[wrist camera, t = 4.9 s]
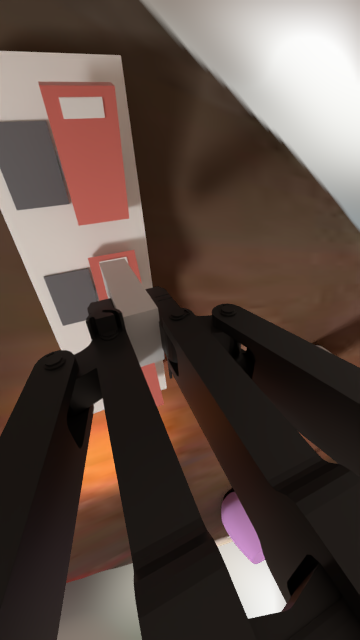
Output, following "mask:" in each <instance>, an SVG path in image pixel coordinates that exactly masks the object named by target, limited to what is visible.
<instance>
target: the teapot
mask: <svg viewBox="0 0 360 640" xmlns="http://www.w3.org/2000/svg"><path fill="white" fill-rule="evenodd" d="M221 516H222V522H223V524H224V527H225V529H226V530H227V532H228V534H229V536H230V537H231V539H232V540H233V542H234V543H235V544H236V546H237V547H238V548H239V549H240V550H241V551H242V552H243V554H244V555H245V556H246V557H247V558H248V559H249V560H250V561H251V562H252V563H254V564H258V563H260V562H262V561H264V560H265V557H264V555H263V552H262V548H261V544H260V541H259V538H258V535H257V533H256V531H255V529H254V527H253V525H252V523H251V521H250V520H249V518H248V516H247V514H246V512H245V510H244V508H243V506H242V504H241V503H240V501H239V499H238V497H237V495H236V493H235V491H234V492H231V493H229V494H228V495H227V496H226V498H225V499H224V500H223V502H222V507H221Z"/></svg>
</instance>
